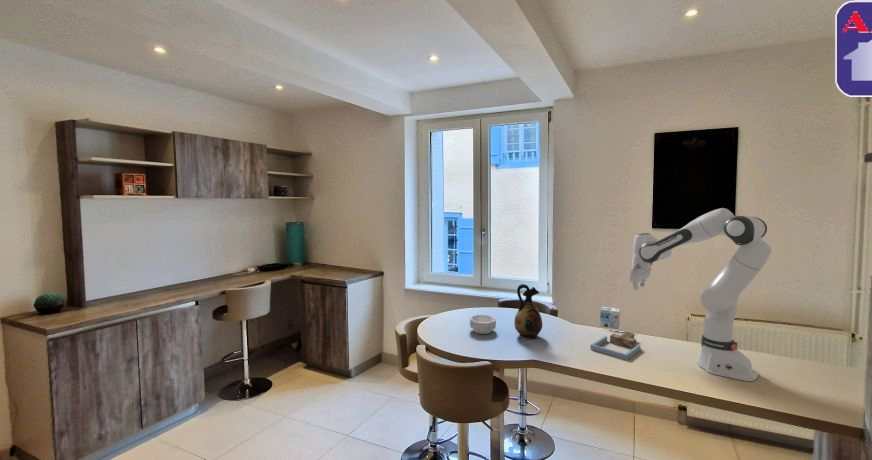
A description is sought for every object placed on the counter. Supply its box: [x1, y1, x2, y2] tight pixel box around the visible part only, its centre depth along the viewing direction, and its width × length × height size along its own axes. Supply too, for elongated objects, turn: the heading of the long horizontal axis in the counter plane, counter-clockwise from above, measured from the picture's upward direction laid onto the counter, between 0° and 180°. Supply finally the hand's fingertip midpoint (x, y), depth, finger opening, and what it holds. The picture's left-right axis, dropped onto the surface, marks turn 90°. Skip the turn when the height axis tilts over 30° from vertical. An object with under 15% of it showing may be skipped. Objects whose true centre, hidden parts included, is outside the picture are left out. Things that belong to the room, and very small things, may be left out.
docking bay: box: [590, 335, 641, 361], centre depth 208 cm, size 18×17×2 cm
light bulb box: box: [599, 306, 621, 330], centre depth 242 cm, size 11×7×11 cm, turn 62°
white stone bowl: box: [469, 314, 497, 335], centre depth 237 cm, size 15×15×8 cm
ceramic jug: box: [513, 283, 543, 340], centre depth 226 cm, size 17×15×30 cm
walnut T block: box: [609, 331, 637, 349], centre depth 217 cm, size 12×12×4 cm
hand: (639, 288), depth 217 cm, fingers open, 8 cm apart
